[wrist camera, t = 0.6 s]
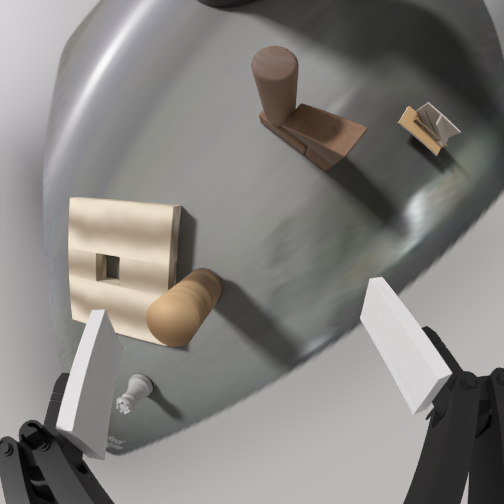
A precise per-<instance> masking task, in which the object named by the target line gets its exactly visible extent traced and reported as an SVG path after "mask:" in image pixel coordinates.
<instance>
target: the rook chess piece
mask: <svg viewBox="0 0 504 504" xmlns="http://www.w3.org/2000/svg"><path fill="white" fill-rule="evenodd" d="M128 384H129V385H128V390H127V392H126V393H125V394H123V395H122V397H120V398H118V399H117V404H116V405H117V409H120V412H121V413H123V412H125V413H124V414H126V415H127V414H129V413H132V412H133V411H134V407H135V406H136V405H137V402H138V401H139V400H140V399H141V398H144V397H147V396H149V394H150V393H151V392H152V391H153V386H152V383H151V381H150V380H149V379H148V378H147V377H146V376H144V375H141V374H135V375H133V376H132V377H131V379H130V380H129V383H128Z"/></svg>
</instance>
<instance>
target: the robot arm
mask: <svg viewBox="0 0 504 504" xmlns="http://www.w3.org/2000/svg"><path fill="white" fill-rule="evenodd" d="M198 1H199V2H201V3H204V4H206V5H210V6H216V7H233V6H240V5H245V4H248V3H251V2H254V1H257V0H198ZM360 319H361V321H362V323H363V324H364V326H365V328H366V330H367V331H368V333H369V335H370V336H371V338H372V340H373V342H374V343H375V345H376V347H377V349H378V350H379V352H380V354H381V356H382V358H383V359H384V361H385V363H386V365H387V367H388V368H389V370H390V372H391V374H392V376H393V378H394V379H395V381H396V383H397V385H398V387H399V389H400V391H401V392H402V394H403V396H404V398H405V400H406V402H407V404H408V406H409V408H410V410H411V412H412V414H413V415H414V414H416V413H419V412H421V411H423V410H425V409H427V408H428V406H429V405H430V404H431V402H432V403H433V405H434V408H433V409H432V410H431V412H430V413H429V414H428V415H427V417H426V420H428V419H429V417H430V416H431V418H430V423H429V427H428V430H427V435H426V438H425V442H424V446H423V449H422V452H421V456H420V459H419V462H418V465H417V468H416V472H415V474H414V477H413V480H412V483H411V485H410V488H409V491H408V493H407V496H406V498H405V501H404V503H403V504H460V503H461V499H462V496H463V492H464V489H465V485H466V481H467V477H468V472H469V489H468V504H504V368H496V369H495V370H493V372H492V373H491V374H490V375H489V376H481V377H476V375H474V374H473V373H471V372H466V371H463V370H462V369H461V367H460V366H459V364H458V363H457V361H456V360H455V358H454V357H453V356H452V354H451V353H450V351H449V350H448V349H447V348H446V346H445V344H444V343H443V342H442V341H441V339H440V337H439V336H438V335H437V333H436V332H435V331H433V330H432V329H430V328H429V327H428V326H426V327H423V328H421V327H420V326H419V324H418V323H417V322H416V320H415V319H414V318H413V316H412V315H411V314H410V312H409V311H408V310H407V308H406V307H405V306H404V304H403V303H402V302H401V300H400V299H399V298H398V296H397V295H396V294H395V293H394V291H393V290H392V289H391V287H390V286H389V285H388V284H387V282H386V281H385V280H384V279H383V277H378V278H372V279H369V284H368V288H367V292H366V297H365V301H364V305H363V309H362V313H361V317H360ZM122 348H123V347H122V345H121V343H120V341H119V339H118V337H117V335H116V333H115V330H114V328H113V326H112V324H111V321H110V319H109V317H108V315H107V312H106V310H105V309H103V310H92V311H91V314H90V316H89V319H88V322H87V325H86V327H85V330H84V333H83V336H82V338H81V341H80V344H79V347H78V350H77V353H76V356H75V359H74V362H73V365H72V369H71V372H70V373H62V374H61V375H60V377H59V378H58V379H57V381H56V383H55V386H54V389H53V394H52V396H51V401H50V403H49V406H48V410H47V414H46V417H45V421H44V425H42V424H40V422H38V421H36V420H29V421H27V422H25V423H24V424H23V425H22V427H21V428H20V430H19V440H20V442H17V441H16V440H14V439H13V438H11V437H9V436H7V437H3V438H1V440H0V477H1V482H2V488H3V492H4V497H5V501H6V504H114V502H113V501H112V500H111V499H110V497H109V496H108V494H107V493H106V492H105V490H104V489H103V488H102V486H101V485H100V484H99V482H98V481H97V479H96V478H95V476H94V475H93V473H92V472H91V471H90V469H89V467H88V466H87V464H86V463H85V461H84V460H83V459H82V455H83V453H84V454H85V455H86V456H88V457H89V458H95V459H103V460H104V459H105V452H106V443H107V435H108V427H109V420H110V413H111V406H112V400H113V394H114V388H115V383H116V377H117V372H118V367H119V362H120V357H121V352H122Z"/></svg>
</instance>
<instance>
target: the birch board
mask: <svg viewBox="0 0 504 504" xmlns="http://www.w3.org/2000/svg"><path fill="white" fill-rule="evenodd" d="M180 215H181V206H178V205H168V204H158V203H147V202H136V201H124V200H111V199H98V198H84V197H77V198H70V208H69V281H70V297H71V309H72V319H74V320H77V321H80V322H83V323H86V324H87V322H88V319H89V316H90V314H91V311H92V310H103V309H105V310H106V312H107V315H108V317H109V319H110V321H111V324H112V326H113V328H114V330H115V333H119V334H122V335H126V336H130V337H133V338H137V339H141V340H144V341H148V342H152V343H156V344H160V345H164V346H167V345H165V344H163V343H161V342H160V341H158V340H157V339H156V338H155V337H154V336H153V335H152V333H151V332H150V330H149V328H148V325H147V321H146V315H147V311H148V308H149V306H150V305H151V304H152V303H153V302H154V301H156V300H157V299H158V298H159V297H161V296H162V295H163V294H165V293H166V292H167V291H168V290H170V289H171V288H172V287H174V286H175V285H176V268H177V252H178V239H179V226H180ZM106 255H111V256H116V257H120V279H116V278H111V277H106Z"/></svg>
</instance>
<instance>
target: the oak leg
mask: <svg viewBox="0 0 504 504" xmlns="http://www.w3.org/2000/svg"><path fill="white" fill-rule="evenodd" d="M222 293H223V285H222V282H221V280H220V278H219V276H218V275H217V274H216V273H214V272H213V271H211V270H209V269H205V268H199V269H195V270H193V271H192V272H190V273H189V274H188V275H187V276H186V277H185V278H184V279H183V280H181V281H180V282H179V283H177V284H176V285H175V286H174V287H172V288H171V289H170V290H168V291H167V292H166V293H165V294H163V295H162V296H161V297H159V298H158V299H157V300H156V301H154V302H153V303H152V304H151V305H150V306H149V308H148V311H147V315H146V321H147V325H148V328H149V330H150V332H151V333H152V335H153V336H154V337H155V338H156V339H157V340H158V341H160V342H161V343H163V344H165V345H168V346H172V347H179V346H183V345H185V344H187V343H188V342H189V341H190V340H191V339H192V338H193V336H194V335H195V333H196V332H197V330H198V329H199V327H200V326H201V325H202V323H203V322H204V320H205V319H206V317H207V316H208V314H209V313H210V312H211V310H212V309H213V307H214V306H215V304H216V303H217V302H218V301H219V300H220V298H221V296H222Z"/></svg>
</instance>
